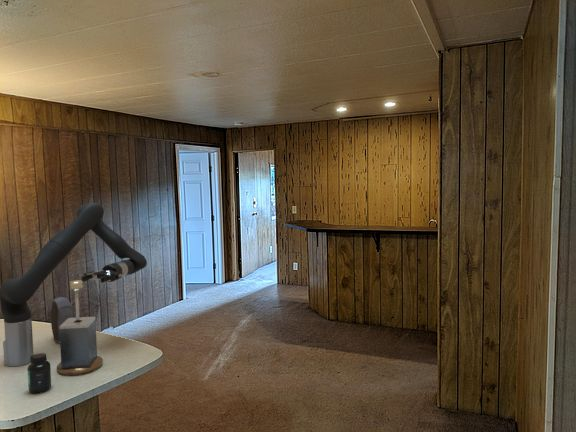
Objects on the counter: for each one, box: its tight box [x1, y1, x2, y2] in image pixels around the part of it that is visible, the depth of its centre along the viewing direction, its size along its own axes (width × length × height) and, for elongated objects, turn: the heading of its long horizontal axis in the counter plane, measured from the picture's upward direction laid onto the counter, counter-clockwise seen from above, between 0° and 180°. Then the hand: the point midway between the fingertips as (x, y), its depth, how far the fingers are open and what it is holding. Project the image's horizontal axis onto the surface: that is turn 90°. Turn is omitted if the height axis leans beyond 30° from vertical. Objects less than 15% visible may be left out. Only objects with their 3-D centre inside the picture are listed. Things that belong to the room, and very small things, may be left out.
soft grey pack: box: [50, 296, 76, 343], centre depth 197 cm, size 15×8×20 cm, turn 42°
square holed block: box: [56, 316, 104, 377], centre depth 169 cm, size 16×16×18 cm
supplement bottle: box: [27, 352, 52, 395], centre depth 151 cm, size 7×7×12 cm
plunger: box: [69, 279, 84, 322], centre depth 167 cm, size 7×7×22 cm
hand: (91, 279), depth 176 cm, fingers open, 8 cm apart
